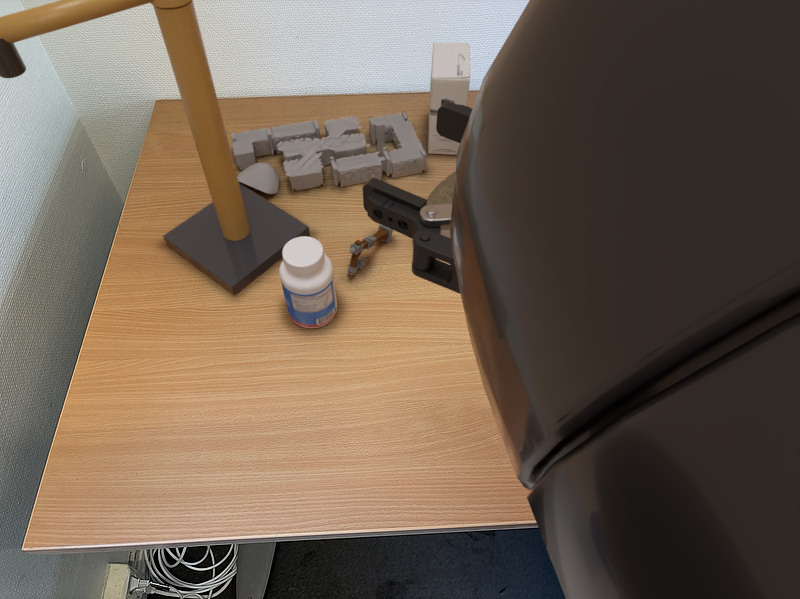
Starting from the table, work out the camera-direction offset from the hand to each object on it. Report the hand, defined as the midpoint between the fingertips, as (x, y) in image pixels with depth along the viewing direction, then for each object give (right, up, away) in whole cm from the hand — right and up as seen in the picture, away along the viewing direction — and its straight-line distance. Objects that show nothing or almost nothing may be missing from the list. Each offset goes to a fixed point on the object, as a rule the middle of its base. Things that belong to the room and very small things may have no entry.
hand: (404, 153), depth 37 cm
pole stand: (-20, -2, +36) cm, 41 cm away
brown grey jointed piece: (-4, -4, +35) cm, 36 cm away
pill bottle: (-10, -10, +30) cm, 33 cm away
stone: (+9, 0, +38) cm, 39 cm away
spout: (-24, +12, +13) cm, 30 cm away
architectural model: (-10, +10, +46) cm, 48 cm away
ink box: (+6, +14, +49) cm, 52 cm away
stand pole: (-20, -1, +35) cm, 40 cm away
